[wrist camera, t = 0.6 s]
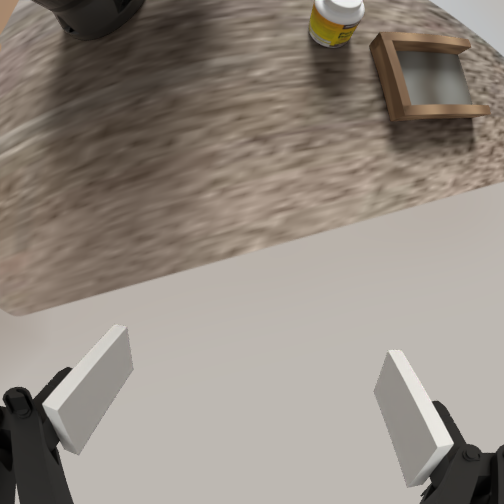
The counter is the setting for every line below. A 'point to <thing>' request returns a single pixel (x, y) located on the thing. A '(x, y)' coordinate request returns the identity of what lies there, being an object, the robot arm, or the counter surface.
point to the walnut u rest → (423, 76)
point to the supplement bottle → (335, 21)
